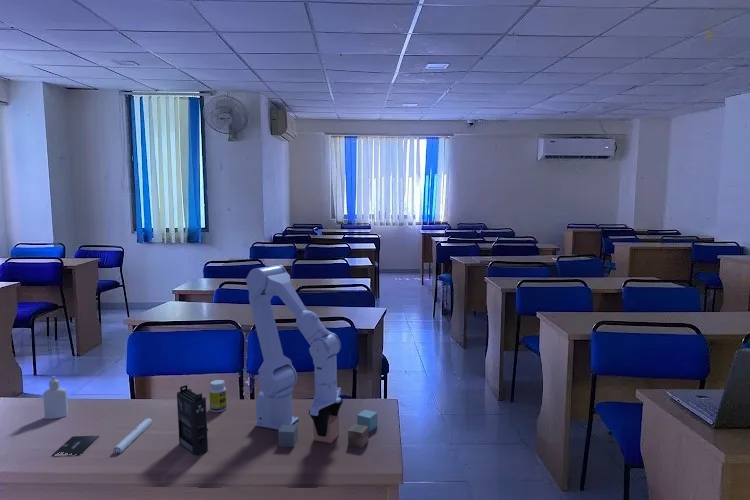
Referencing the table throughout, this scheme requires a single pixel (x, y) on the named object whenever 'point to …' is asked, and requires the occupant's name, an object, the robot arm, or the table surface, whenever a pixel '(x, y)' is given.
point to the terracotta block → (329, 430)
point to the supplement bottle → (218, 396)
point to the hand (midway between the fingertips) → (326, 430)
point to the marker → (132, 436)
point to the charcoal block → (288, 435)
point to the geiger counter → (192, 421)
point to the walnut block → (358, 435)
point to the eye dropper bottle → (55, 400)
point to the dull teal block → (367, 419)
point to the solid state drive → (76, 445)
